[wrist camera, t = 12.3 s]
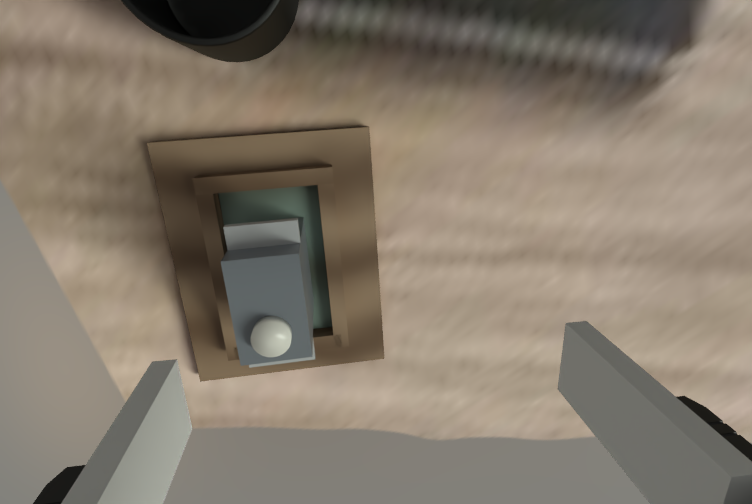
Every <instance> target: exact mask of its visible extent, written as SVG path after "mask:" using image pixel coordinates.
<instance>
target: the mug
mask: <svg viewBox="0 0 752 504" xmlns="http://www.w3.org/2000/svg"><path fill="white" fill-rule="evenodd" d="M121 1H122V2H123V3H124V5H125V6H126V7H127V8H128V9H129V10H130V11H131V12H132V13H133V14H134V15H135V16H136V17H137V18H138V19H139V20H141V21H142V22H143V23H145V24H146V25H147V26H149V27H150V28H151V29H153V30H154V31H156V32H158V33H160V34H162V35H163V36H165V37H167V38H169V39H171V40H174V41H176V42H178V43H180V44H182V45H184V46H187V47H189V48H191V49H193V50H195V51H197V52H200V53H202V54H204V55H206V56H209V57H211V58H214V59H217V60H222V61H226V62H244V61H250V60H253V59H257V58H259V57H261V56H263V55H265V54H267V53H269V52H270V51H272V50H273V49H274V48H275V47H277V46H278V45H279V44H280V43H281V42H282V41H283V39H284V38H285V37H286V35H287V34H288V32H289V30H290V29H291V26H292V24H293V22H294V20H295V16H296V13H297V8H298V2H299V0H121Z"/></svg>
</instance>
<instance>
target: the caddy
mask: <svg viewBox="0 0 752 504" xmlns="http://www.w3.org/2000/svg"><path fill="white" fill-rule="evenodd" d="M147 146H148V151H149V155H150V160H151V164H152V168H153V173H154V177H155V182H156V186H157V191H158V195H159V200H160V204H161V208H162V213H163V217H164V222H165V226H166V231H167V235H168V240H169V244H170V248H171V253H172V257H173V262H174V266H175V271H176V275H177V280H178V284H179V289H180V293H181V297H182V302H183V306H184V311H185V315H186V320H187V324H188V329H189V333H190V337H191V342H192V346H193V351H194V355H195V360H196V364H197V369H198V373H199V377H200V381H208V380H216V379H224V378H232V377H240V376H248V375H256V374H264V373H272V372H280V371H288V370H296V369H304V368H312V367H320V366H328V365H336V364H344V363H352V362H360V361H368V360H376V359H384V346H383V331H382V315H381V300H380V285H379V270H378V254H377V239H376V224H375V208H374V193H373V178H372V163H371V147H370V132H369V127H354V128H340V129H326V130H312V131H298V132H284V133H270V134H256V135H242V136H228V137H214V138H200V139H186V140H172V141H158V142H149V143H147ZM302 217H304V224H305V233H306V241H307V249H308V257H309V265H310V273H311V281H312V289H313V297H314V309H313V341H314V348H315V359H314V360H306V361H298V362H290V363H282V364H275V365H267V366H259V367H251V368H249V365H244V366H241V365H240V360H239V354H238V349H237V344H236V339H235V334H234V329H233V323H232V318H231V313H230V308H229V303H228V298H227V292H226V287H225V282H224V277H223V272H222V267H221V260H222V259H223V257H224V255H225V254H226V252H227V251H228V250H227V245H226V239H225V234H224V228H223V227H224V226H225V225H228V224H239V223H249V222H260V221H270V220H281V219H291V218H302Z"/></svg>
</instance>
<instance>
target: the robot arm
mask: <svg viewBox="0 0 752 504" xmlns="http://www.w3.org/2000/svg"><path fill="white" fill-rule="evenodd" d="M558 390H559V391H560V392H561V394H562V395H563V396H564V397H565V399H566V400H567V401H568V402H569V404H570V405H571V406H572V407H573V409H574V410H575V411H576V412H577V414H578V415H579V416H580V417H581V418H582V420H583V421H584V422H585V423H586V425H587V426H588V427H589V428H590V430H591V431H592V432H593V433H594V435H595V436H596V437H597V438H598V440H599V441H600V442H601V443H602V444H603V446H604V447H605V448H606V449H607V451H608V452H609V453H610V454H611V456H612V457H613V458H614V459H615V461H616V462H617V463H618V464H619V466H620V467H621V468H622V469H623V470H624V472H625V473H626V474H627V476H628V477H629V478H630V479H631V481H632V482H633V483H634V484H635V485H636V487H637V488H638V489H639V490H640V492H641V493H642V494H643V495H644V497H645V498H646V499H647V500H648V502H649V503H650V504H752V444H751V443H749V442H748V441H747V440H746V439H744V438H743V437H742V436H741V435H737V433H736V431H734V430H733V429H732V428H731V427H730V426H728V425H727V424H724V423H723V422H722V420H721V419H720V418H718V417H717V416H716V415H715V414H713V413H712V412H711V411H710V410H709V409H707V408H706V407H704V406H703V405H701V404H699V403H697V402H695V401H693V400H691V399H689V398H687V397H685V396H680V397H675V396H674V395H673V394H672V393H671V392H669V391H668V390H667V389H666V388H665V387H663V386H662V385H661V384H660V383H659V382H658V381H656V380H655V379H654V378H653V377H652V376H651V375H649V374H648V373H647V372H646V371H645V370H643V369H642V368H641V367H640V366H639V365H638V364H636V363H635V362H634V361H633V360H632V359H631V358H629V357H628V356H627V355H626V354H625V353H623V352H622V351H621V350H620V349H619V348H618V347H616V346H615V345H614V344H613V343H612V342H610V341H609V340H608V339H607V338H606V337H605V336H603V335H602V334H601V333H600V332H599V331H598V330H596V329H595V328H594V327H593V326H592V325H590V324H589V323H588V322H587V321H582V322H572V323H566V325H565V333H564V341H563V350H562V358H561V366H560V374H559V382H558ZM191 431H192V425H191V420H190V416H189V411H188V407H187V402H186V398H185V393H184V388H183V384H182V379H181V375H180V370H179V366H178V361H177V359H176V360H165V361H155V362H152V363H151V364H150V366H149V368H148V369H147V371H146V372H145V374H144V375H143V377H142V378H141V380H140V382H139V383H138V385H137V386H136V388H135V389H134V391H133V392H132V394H131V396H130V397H129V399H128V400H127V402H126V403H125V405H124V406H123V408H122V410H121V411H120V413H119V414H118V416H117V418H116V419H115V421H114V422H113V424H112V425H111V427H110V428H109V430H108V431H107V433H106V435H105V436H104V438H103V439H102V441H101V442H100V444H99V446H98V447H97V449H96V450H95V452H94V453H93V455H92V456H91V458H90V460H89V461H88V463H87V464H86V465H82V466H74V467H67V468H65V469H64V470H63V471H62V472H61V473H60V474H59V475H57V476H56V477H55V478H54V479H53V480H52V481H50V483H48V484H47V485H46V486H45V488H44V489H43V490H42V492H41V493H40V495H39V496H38V497H37V499H36V500H35V502H34V503H33V504H163V502H164V499H165V497H166V494H167V492H168V489H169V487H170V484H171V482H172V479H173V477H174V474H175V471H176V469H177V466H178V464H179V461H180V459H181V456H182V454H183V451H184V449H185V446H186V443H187V441H188V438H189V436H190V433H191Z"/></svg>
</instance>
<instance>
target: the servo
mask: <svg viewBox="0 0 752 504" xmlns="http://www.w3.org/2000/svg"><path fill="white" fill-rule="evenodd" d="M223 228H224V234H225V239H226V245H227V250H228V251H227V252H226V254H225V255H224V257H223V259H222V260H221V267H222V272H223V277H224V282H225V287H226V292H227V298H228V303H229V308H230V313H231V318H232V323H233V329H234V334H235V339H236V344H237V349H238V354H239V360H240V365H241V366H244V365H249V368H251V367H259V366H267V365H275V364H282V363H290V362H298V361H306V360H314V359H315V348H314V341H313V309H314V297H313V289H312V281H311V273H310V265H309V257H308V249H307V241H306V233H305V224H304V217H302V218H291V219H281V220H270V221H260V222H249V223H239V224H228V225H225V226H224V227H223Z"/></svg>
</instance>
